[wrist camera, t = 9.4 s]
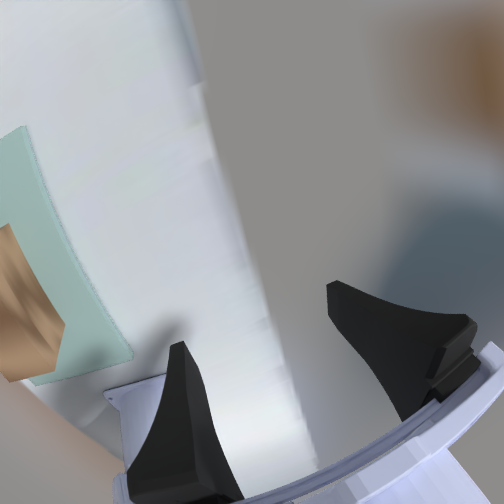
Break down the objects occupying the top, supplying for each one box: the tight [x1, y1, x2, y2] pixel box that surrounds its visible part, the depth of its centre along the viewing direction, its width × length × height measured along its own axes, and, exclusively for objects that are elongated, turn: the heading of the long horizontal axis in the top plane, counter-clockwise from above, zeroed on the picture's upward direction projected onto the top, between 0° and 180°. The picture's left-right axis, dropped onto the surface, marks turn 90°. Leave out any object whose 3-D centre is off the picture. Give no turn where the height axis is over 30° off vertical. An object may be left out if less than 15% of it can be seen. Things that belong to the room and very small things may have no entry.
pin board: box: [0, 126, 133, 386], centre depth 15 cm, size 20×12×4 cm, turn 13°
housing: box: [0, 223, 66, 382], centre depth 14 cm, size 9×5×5 cm, turn 13°
